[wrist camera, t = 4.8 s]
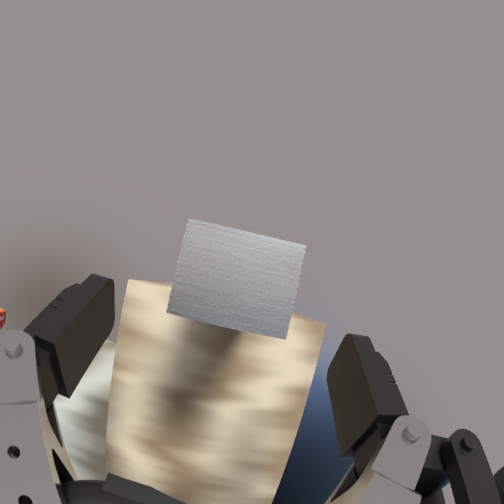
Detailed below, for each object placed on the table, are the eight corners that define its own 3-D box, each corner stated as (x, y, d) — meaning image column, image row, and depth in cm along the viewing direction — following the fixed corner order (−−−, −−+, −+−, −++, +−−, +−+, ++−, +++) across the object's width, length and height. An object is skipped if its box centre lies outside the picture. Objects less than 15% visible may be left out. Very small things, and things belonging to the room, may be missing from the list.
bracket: (254, 304, 27) (264, 261, 28) (323, 345, 7) (351, 197, 8) (200, 291, 27) (210, 248, 27) (128, 302, 7) (169, 153, 8)
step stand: (224, 526, 27) (283, 308, 31) (226, 598, 13) (326, 324, 17) (59, 476, 26) (75, 256, 30) (14, 525, 12) (-3, 237, 16)
